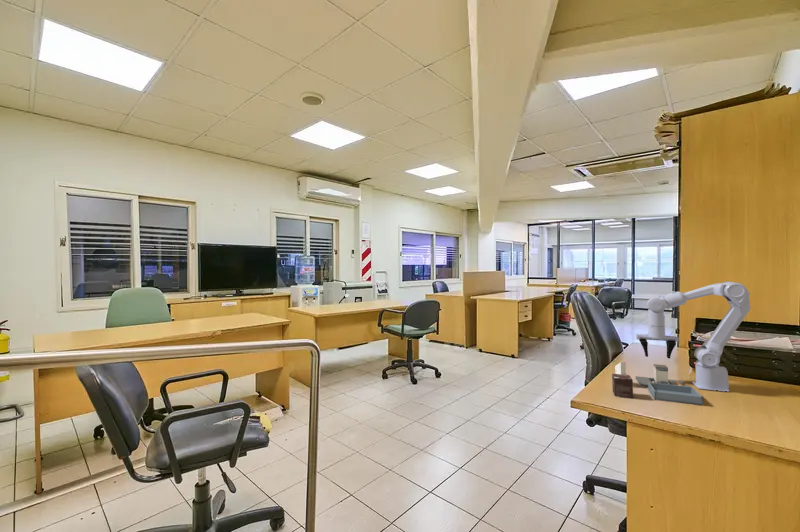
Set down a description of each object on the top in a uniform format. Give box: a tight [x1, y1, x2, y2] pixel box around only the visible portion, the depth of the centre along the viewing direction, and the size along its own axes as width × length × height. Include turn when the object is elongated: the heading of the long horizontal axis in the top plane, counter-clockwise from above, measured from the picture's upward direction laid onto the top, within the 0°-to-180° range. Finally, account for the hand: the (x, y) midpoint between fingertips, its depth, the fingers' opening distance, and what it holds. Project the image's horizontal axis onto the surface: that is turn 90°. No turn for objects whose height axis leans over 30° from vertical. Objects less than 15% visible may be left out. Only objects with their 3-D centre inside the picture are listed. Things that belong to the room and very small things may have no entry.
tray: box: [647, 382, 704, 406], centre depth 127 cm, size 14×11×3 cm
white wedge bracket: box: [614, 361, 627, 375], centre depth 142 cm, size 4×10×9 cm
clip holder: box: [635, 375, 687, 388], centre depth 140 cm, size 16×11×3 cm
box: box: [611, 373, 634, 399], centre depth 131 cm, size 6×6×7 cm
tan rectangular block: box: [653, 363, 669, 383], centre depth 140 cm, size 4×4×8 cm
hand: (657, 357), depth 145 cm, fingers open, 7 cm apart
